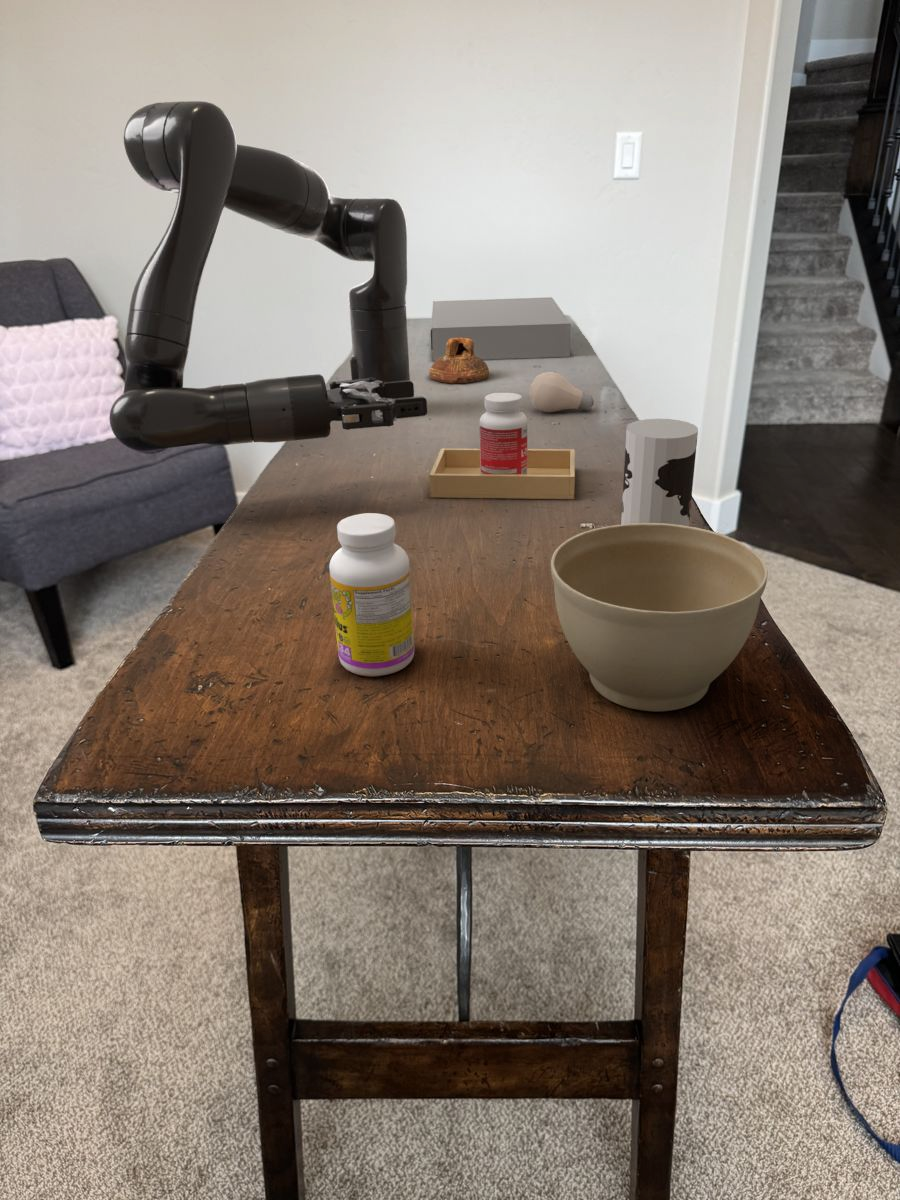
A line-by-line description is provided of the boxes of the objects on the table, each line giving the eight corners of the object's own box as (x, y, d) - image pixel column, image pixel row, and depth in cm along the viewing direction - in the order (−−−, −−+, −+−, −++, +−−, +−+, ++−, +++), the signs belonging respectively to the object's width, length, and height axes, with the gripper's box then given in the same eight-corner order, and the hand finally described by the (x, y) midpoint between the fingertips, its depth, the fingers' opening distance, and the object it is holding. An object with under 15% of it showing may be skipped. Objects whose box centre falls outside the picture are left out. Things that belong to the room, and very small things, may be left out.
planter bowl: (542, 635, 81) (544, 523, 76) (722, 633, 80) (736, 520, 75) (555, 740, 66) (559, 611, 61) (775, 739, 65) (797, 608, 61)
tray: (430, 497, 113) (429, 475, 112) (441, 469, 123) (440, 448, 122) (574, 499, 111) (574, 476, 110) (574, 470, 121) (574, 449, 120)
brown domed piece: (493, 370, 177) (492, 332, 174) (484, 384, 166) (483, 345, 163) (435, 370, 179) (434, 332, 176) (423, 384, 168) (421, 345, 165)
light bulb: (587, 430, 147) (524, 413, 146) (586, 412, 152) (524, 396, 151) (601, 394, 143) (535, 377, 142) (599, 377, 148) (535, 360, 147)
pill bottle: (530, 486, 114) (530, 401, 109) (482, 489, 114) (481, 403, 109) (523, 471, 120) (524, 389, 115) (478, 473, 120) (476, 391, 115)
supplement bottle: (340, 643, 80) (326, 510, 75) (413, 638, 81) (405, 505, 75) (337, 682, 74) (323, 541, 69) (416, 677, 75) (408, 536, 69)
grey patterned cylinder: (698, 572, 91) (713, 429, 84) (649, 589, 88) (661, 442, 81) (652, 551, 96) (662, 414, 90) (604, 566, 93) (611, 426, 86)
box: (569, 356, 186) (570, 322, 183) (431, 361, 186) (430, 326, 183) (551, 327, 217) (551, 297, 214) (433, 331, 218) (432, 301, 214)
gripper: (287, 392, 99) (430, 379, 102) (280, 365, 111) (407, 354, 114) (295, 456, 102) (433, 442, 105) (287, 424, 115) (410, 412, 118)
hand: (419, 397), depth 110 cm, fingers open, 8 cm apart
